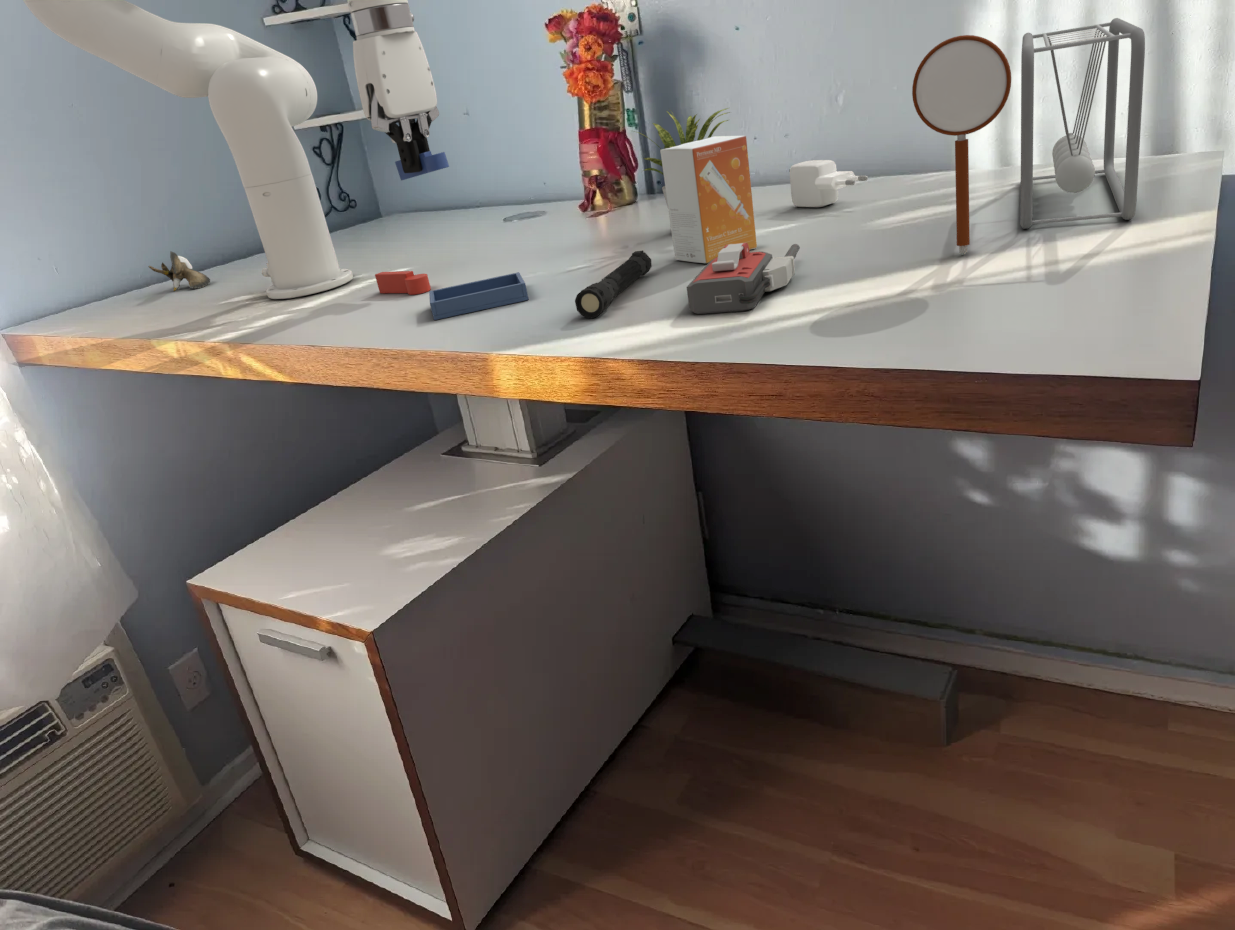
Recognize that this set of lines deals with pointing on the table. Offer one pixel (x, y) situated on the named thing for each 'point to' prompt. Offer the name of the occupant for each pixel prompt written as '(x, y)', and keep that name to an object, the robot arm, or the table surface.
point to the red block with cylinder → (402, 282)
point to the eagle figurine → (182, 272)
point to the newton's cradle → (1071, 149)
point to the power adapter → (818, 182)
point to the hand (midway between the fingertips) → (418, 169)
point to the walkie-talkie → (739, 279)
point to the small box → (709, 196)
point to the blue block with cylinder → (425, 164)
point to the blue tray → (477, 295)
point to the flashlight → (611, 285)
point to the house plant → (682, 137)
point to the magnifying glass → (961, 102)
